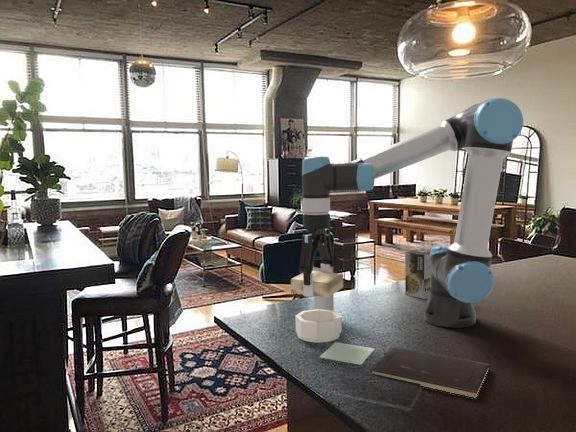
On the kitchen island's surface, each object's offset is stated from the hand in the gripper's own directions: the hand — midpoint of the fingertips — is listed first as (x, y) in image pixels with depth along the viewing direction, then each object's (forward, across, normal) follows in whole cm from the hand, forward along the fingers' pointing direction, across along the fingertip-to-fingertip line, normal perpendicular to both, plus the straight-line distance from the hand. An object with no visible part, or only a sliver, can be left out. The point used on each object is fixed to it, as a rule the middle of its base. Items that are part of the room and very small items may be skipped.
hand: (317, 291), depth 134 cm
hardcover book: (+14, +11, +33) cm, 38 cm away
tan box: (0, 0, 0) cm, 0 cm away
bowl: (+13, 0, 0) cm, 13 cm away
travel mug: (+13, -16, -5) cm, 21 cm away
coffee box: (+13, -53, +17) cm, 57 cm away
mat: (+13, +9, +12) cm, 20 cm away
